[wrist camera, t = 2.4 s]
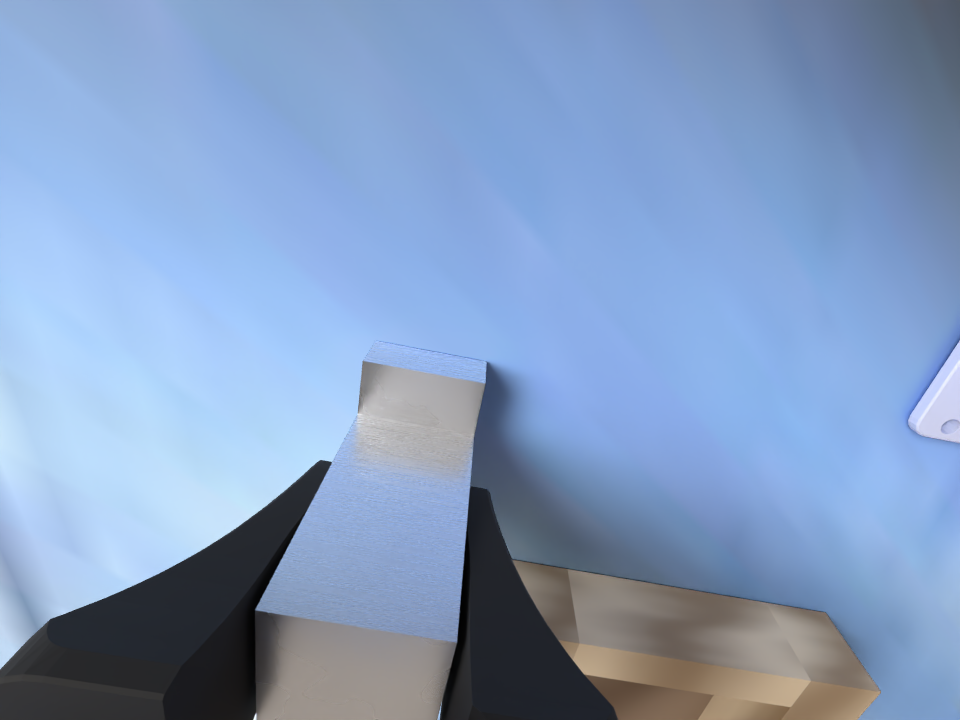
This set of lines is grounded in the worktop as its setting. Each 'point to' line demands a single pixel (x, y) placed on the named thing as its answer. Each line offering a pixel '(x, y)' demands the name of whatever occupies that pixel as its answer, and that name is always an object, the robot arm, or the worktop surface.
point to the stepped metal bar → (377, 553)
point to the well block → (699, 650)
